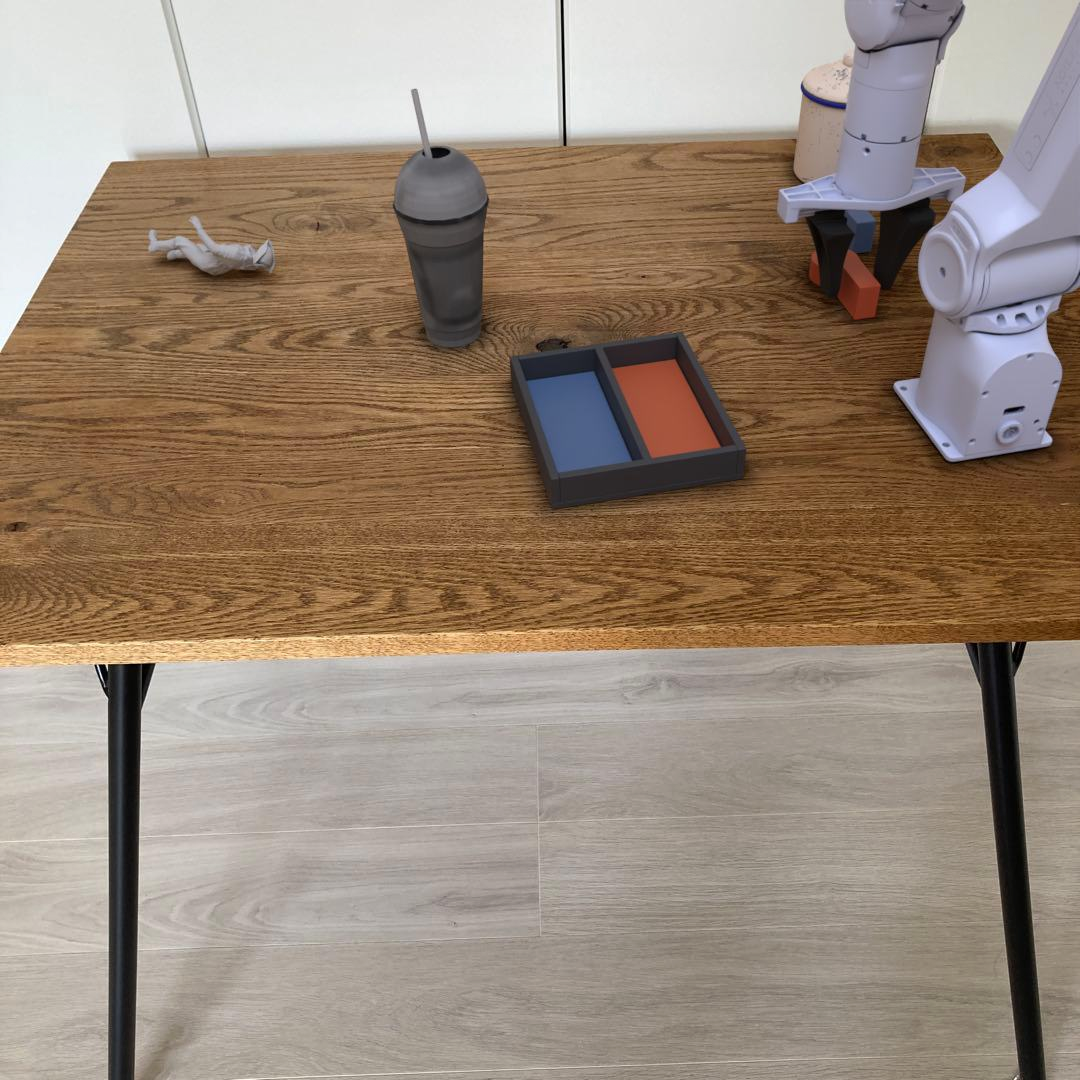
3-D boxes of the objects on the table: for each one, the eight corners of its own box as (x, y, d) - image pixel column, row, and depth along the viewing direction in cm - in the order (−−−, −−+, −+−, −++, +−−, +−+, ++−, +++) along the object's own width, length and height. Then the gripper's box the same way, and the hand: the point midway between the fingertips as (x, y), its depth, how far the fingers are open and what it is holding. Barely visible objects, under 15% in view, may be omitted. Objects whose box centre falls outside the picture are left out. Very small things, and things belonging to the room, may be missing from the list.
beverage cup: (486, 361, 94) (467, 114, 80) (398, 353, 95) (365, 108, 81) (506, 312, 99) (492, 72, 85) (422, 305, 100) (395, 68, 86)
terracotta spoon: (887, 315, 97) (894, 283, 95) (841, 322, 96) (846, 289, 94) (845, 262, 103) (850, 231, 101) (801, 268, 102) (806, 236, 100)
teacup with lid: (899, 190, 112) (921, 67, 105) (805, 198, 112) (821, 75, 104) (858, 137, 121) (876, 20, 113) (771, 145, 121) (784, 27, 113)
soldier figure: (197, 250, 110) (300, 228, 105) (195, 300, 110) (299, 281, 104) (134, 222, 103) (241, 197, 98) (132, 276, 103) (239, 254, 97)
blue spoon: (883, 250, 104) (889, 219, 102) (840, 256, 104) (845, 225, 102) (844, 204, 111) (848, 174, 109) (803, 209, 110) (807, 179, 108)
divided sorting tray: (743, 479, 82) (746, 448, 80) (552, 509, 80) (551, 479, 78) (680, 360, 93) (682, 331, 91) (511, 385, 91) (509, 355, 89)
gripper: (948, 96, 92) (916, 253, 101) (771, 117, 90) (754, 275, 99) (992, 133, 87) (954, 295, 96) (805, 157, 85) (784, 319, 94)
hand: (855, 288), depth 97 cm, fingers open, 4 cm apart
